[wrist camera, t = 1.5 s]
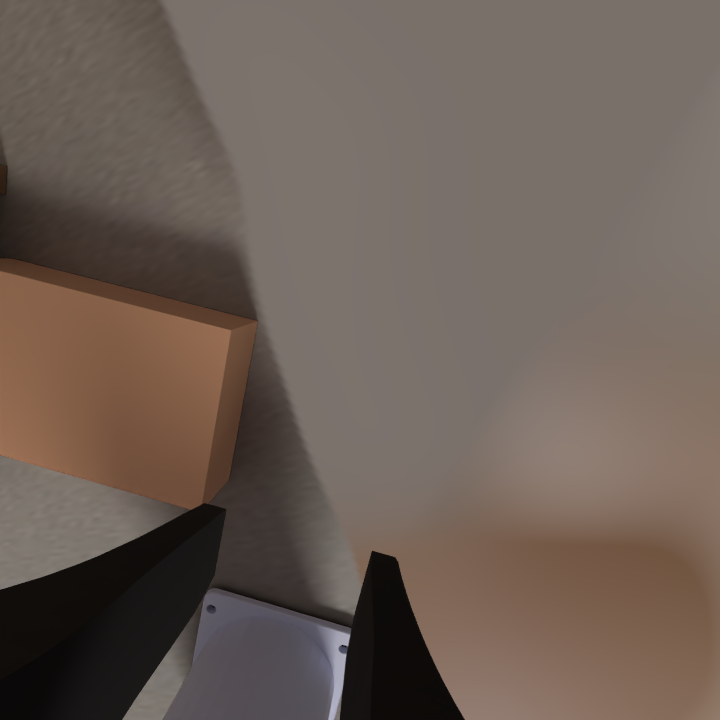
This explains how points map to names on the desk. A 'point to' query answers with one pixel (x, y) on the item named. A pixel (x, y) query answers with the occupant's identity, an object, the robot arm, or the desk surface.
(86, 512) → the desk surface
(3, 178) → the overhang shelf
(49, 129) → the desk surface
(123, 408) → the tan rectangular slab
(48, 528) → the desk surface
